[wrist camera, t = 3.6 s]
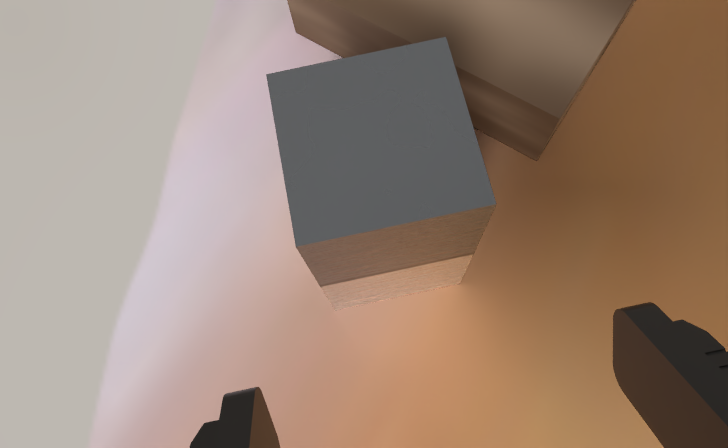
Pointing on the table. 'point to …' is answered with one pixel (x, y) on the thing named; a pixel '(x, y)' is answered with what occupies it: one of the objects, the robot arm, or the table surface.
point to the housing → (381, 172)
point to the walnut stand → (484, 51)
